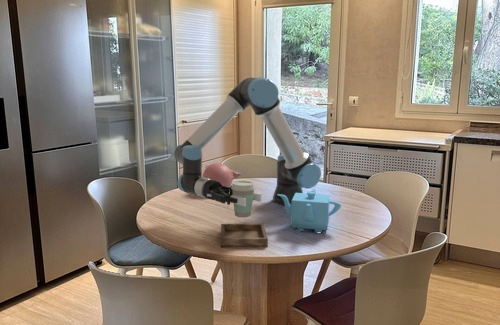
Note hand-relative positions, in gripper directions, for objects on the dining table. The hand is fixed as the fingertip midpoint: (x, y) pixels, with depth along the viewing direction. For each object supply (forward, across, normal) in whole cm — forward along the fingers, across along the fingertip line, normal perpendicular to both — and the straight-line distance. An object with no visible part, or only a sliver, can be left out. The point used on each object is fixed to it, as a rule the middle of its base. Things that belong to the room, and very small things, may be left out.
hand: (253, 200), depth 155 cm
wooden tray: (-5, 0, -16) cm, 16 cm away
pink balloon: (-57, -41, -16) cm, 72 cm away
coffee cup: (-5, 0, -7) cm, 8 cm away
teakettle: (+6, -26, -16) cm, 31 cm away
